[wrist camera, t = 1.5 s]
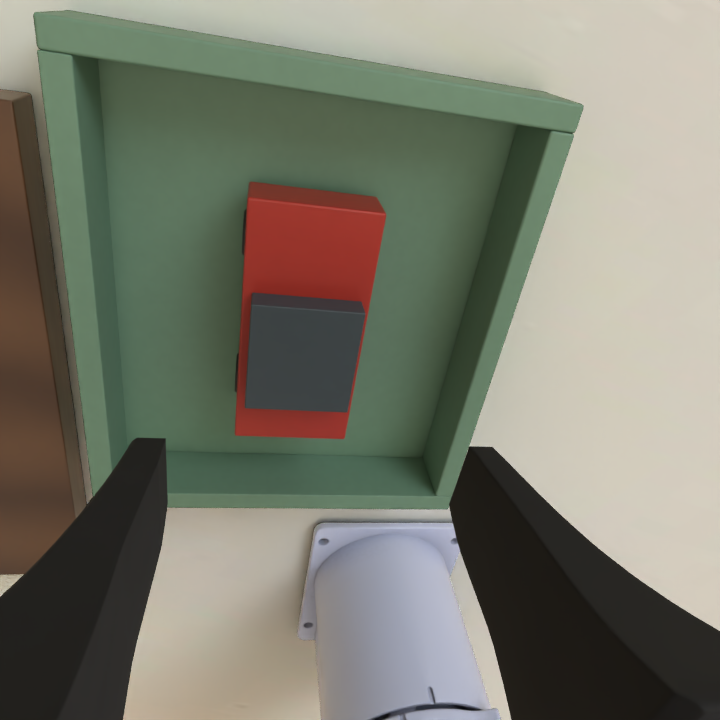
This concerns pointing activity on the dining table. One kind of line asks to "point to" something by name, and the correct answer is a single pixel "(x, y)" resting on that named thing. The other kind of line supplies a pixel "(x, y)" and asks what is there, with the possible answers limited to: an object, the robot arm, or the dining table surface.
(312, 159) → the tray
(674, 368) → the dining table surface
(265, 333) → the toy car
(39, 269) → the board
